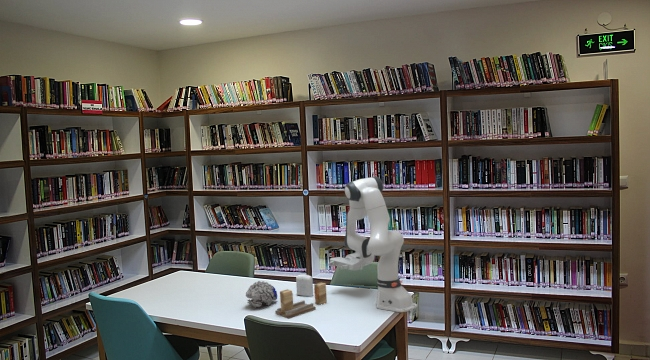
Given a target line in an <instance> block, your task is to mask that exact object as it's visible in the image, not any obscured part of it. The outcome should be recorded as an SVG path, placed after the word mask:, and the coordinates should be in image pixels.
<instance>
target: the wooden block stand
mask: <svg viewBox="0 0 650 360" xmlns="http://www.w3.org/2000/svg"><path fill="white" fill-rule="evenodd" d="M293 295H294V294H293V290H291V289H288V288H287V289H284V290H281V291H279V297H280V298H279V300H280V307H278V308H276V310H275V313H274V314H276V315H278V316H280V317H284V318H287V319H292V318H296V317H299V316H302V315H304V314H307V313H310V312H313V311H315V310H317V309H316V306H314V303H312V302H311V303H308V304H307V303H306V301H305V300H301V301H298V302H294V296H293Z"/></svg>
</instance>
